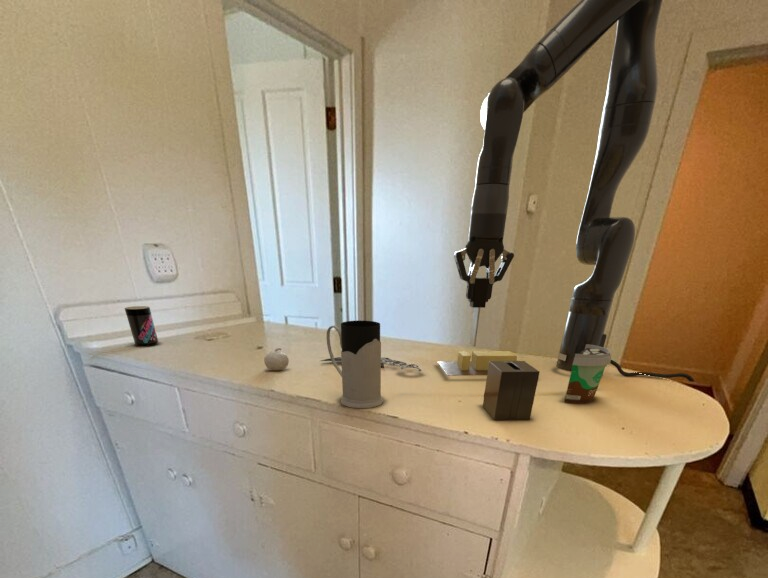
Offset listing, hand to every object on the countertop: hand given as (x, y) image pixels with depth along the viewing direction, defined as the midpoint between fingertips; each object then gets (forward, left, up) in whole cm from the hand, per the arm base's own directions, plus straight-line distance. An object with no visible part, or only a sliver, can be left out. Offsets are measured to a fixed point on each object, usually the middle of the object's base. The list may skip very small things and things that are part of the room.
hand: (478, 301), depth 100 cm
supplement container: (+93, -35, -17) cm, 101 cm away
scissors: (+24, -6, -17) cm, 30 cm away
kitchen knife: (0, 0, -10) cm, 10 cm away
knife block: (0, +30, -17) cm, 34 cm away
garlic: (+49, -4, -17) cm, 52 cm away
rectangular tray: (-4, 0, -17) cm, 17 cm away
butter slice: (+2, 0, -15) cm, 15 cm away
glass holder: (+30, +20, -17) cm, 40 cm away
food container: (-20, +22, -17) cm, 34 cm away
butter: (-6, 0, -15) cm, 16 cm away
